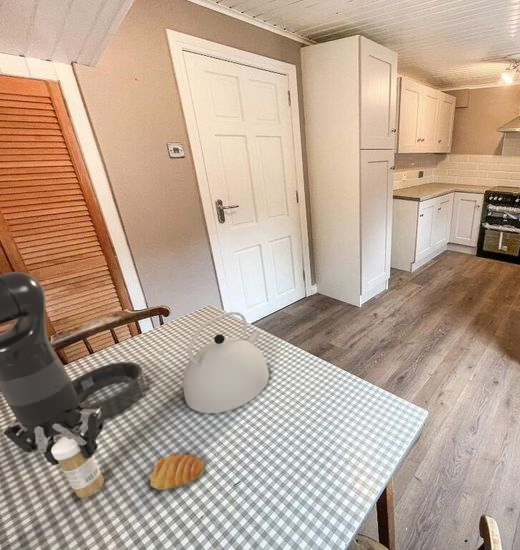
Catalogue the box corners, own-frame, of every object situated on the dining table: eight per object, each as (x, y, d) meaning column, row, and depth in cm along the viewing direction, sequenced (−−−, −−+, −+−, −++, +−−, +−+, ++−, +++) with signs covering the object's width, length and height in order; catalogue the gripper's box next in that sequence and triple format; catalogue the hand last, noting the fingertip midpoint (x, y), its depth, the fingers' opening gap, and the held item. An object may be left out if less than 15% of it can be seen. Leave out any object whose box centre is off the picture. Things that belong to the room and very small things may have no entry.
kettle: (240, 349, 105) (228, 290, 97) (290, 369, 95) (282, 305, 87) (167, 396, 85) (145, 327, 76) (222, 428, 75) (203, 353, 66)
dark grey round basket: (48, 433, 74) (38, 414, 71) (90, 383, 89) (83, 367, 87) (131, 418, 78) (124, 400, 75) (157, 373, 93) (151, 357, 91)
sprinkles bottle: (100, 474, 64) (77, 427, 59) (110, 484, 62) (88, 437, 57) (72, 493, 60) (45, 445, 55) (82, 506, 58) (56, 457, 53)
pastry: (210, 458, 67) (206, 446, 66) (197, 490, 61) (192, 477, 60) (166, 462, 67) (161, 450, 65) (148, 494, 60) (142, 481, 59)
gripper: (100, 366, 56) (127, 433, 63) (4, 379, 53) (43, 448, 60) (75, 395, 50) (108, 466, 56) (-36, 412, 46) (13, 486, 53)
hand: (75, 457), depth 58 cm, fingers closed on sprinkles bottle, 4 cm apart
